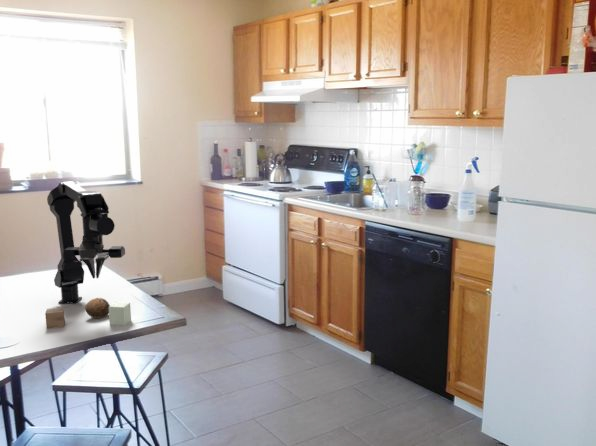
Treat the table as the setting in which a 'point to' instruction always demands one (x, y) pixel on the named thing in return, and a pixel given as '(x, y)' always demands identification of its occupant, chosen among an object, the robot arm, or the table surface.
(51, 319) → the walnut block
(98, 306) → the coconut
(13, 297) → the table surface
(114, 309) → the sage block
